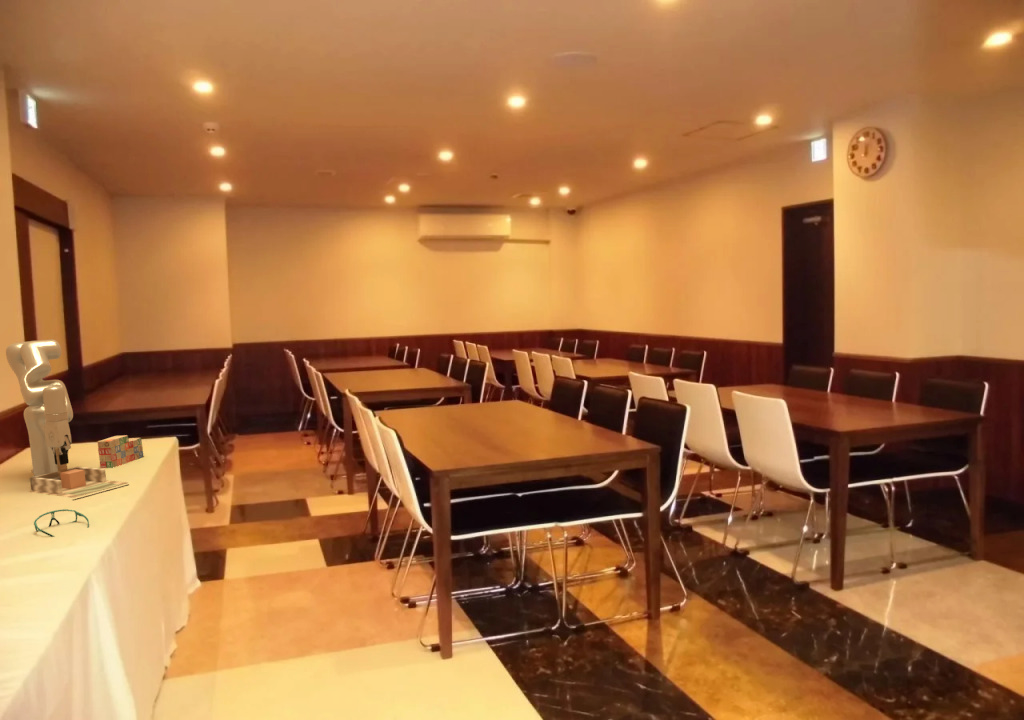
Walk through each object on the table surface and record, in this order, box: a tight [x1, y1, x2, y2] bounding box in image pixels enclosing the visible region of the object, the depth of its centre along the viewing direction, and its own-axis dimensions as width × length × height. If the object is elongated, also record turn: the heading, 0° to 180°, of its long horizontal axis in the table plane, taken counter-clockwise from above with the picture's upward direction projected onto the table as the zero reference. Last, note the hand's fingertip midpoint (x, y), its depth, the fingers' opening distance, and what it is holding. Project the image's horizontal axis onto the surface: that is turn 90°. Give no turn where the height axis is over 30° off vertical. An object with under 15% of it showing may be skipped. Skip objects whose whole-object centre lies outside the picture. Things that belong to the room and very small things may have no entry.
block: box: [60, 469, 86, 489], centre depth 295 cm, size 6×6×6 cm
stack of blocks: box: [97, 434, 144, 469], centre depth 341 cm, size 21×6×12 cm, turn 171°
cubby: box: [27, 466, 130, 501], centre depth 293 cm, size 30×22×6 cm
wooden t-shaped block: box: [52, 445, 69, 480], centre depth 297 cm, size 3×12×16 cm, turn 151°
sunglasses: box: [33, 508, 90, 538], centre depth 241 cm, size 14×15×5 cm
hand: (62, 463), depth 297 cm, fingers closed on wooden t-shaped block, 2 cm apart
